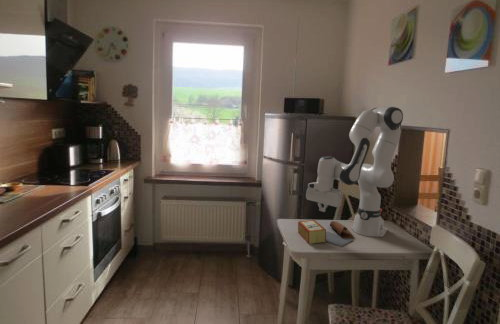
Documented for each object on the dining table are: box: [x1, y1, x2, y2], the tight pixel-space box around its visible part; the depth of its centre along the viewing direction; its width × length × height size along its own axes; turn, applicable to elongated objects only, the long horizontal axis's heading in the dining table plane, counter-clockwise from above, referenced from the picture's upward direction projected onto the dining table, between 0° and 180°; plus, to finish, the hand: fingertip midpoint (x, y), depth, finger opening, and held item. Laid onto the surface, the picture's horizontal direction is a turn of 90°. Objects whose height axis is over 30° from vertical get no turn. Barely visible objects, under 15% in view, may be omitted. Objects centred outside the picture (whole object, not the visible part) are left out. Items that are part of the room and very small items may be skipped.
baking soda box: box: [297, 219, 327, 245], centre depth 177 cm, size 10×6×16 cm
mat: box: [325, 231, 354, 248], centre depth 178 cm, size 13×16×1 cm
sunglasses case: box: [329, 220, 355, 239], centre depth 188 cm, size 18×7×7 cm, turn 6°
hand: (322, 211), depth 181 cm, fingers closed
